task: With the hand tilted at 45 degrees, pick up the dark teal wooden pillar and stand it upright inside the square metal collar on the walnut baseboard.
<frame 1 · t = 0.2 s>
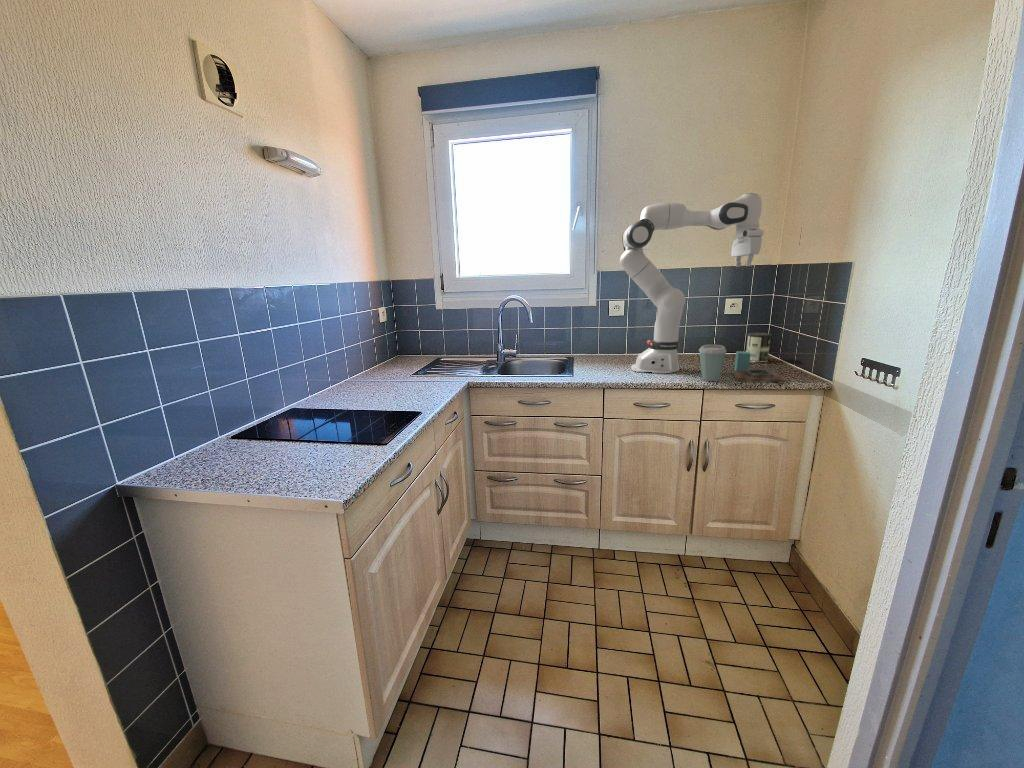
hand: (742, 266, 182), 47 cm above the worktop, tool pointing down, fingers open, 8 cm apart
pillar: (741, 371, 191), on the worktop
base board: (757, 378, 178), on the worktop
disposable coffee cup: (709, 380, 178), on the worktop
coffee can: (756, 361, 211), on the worktop
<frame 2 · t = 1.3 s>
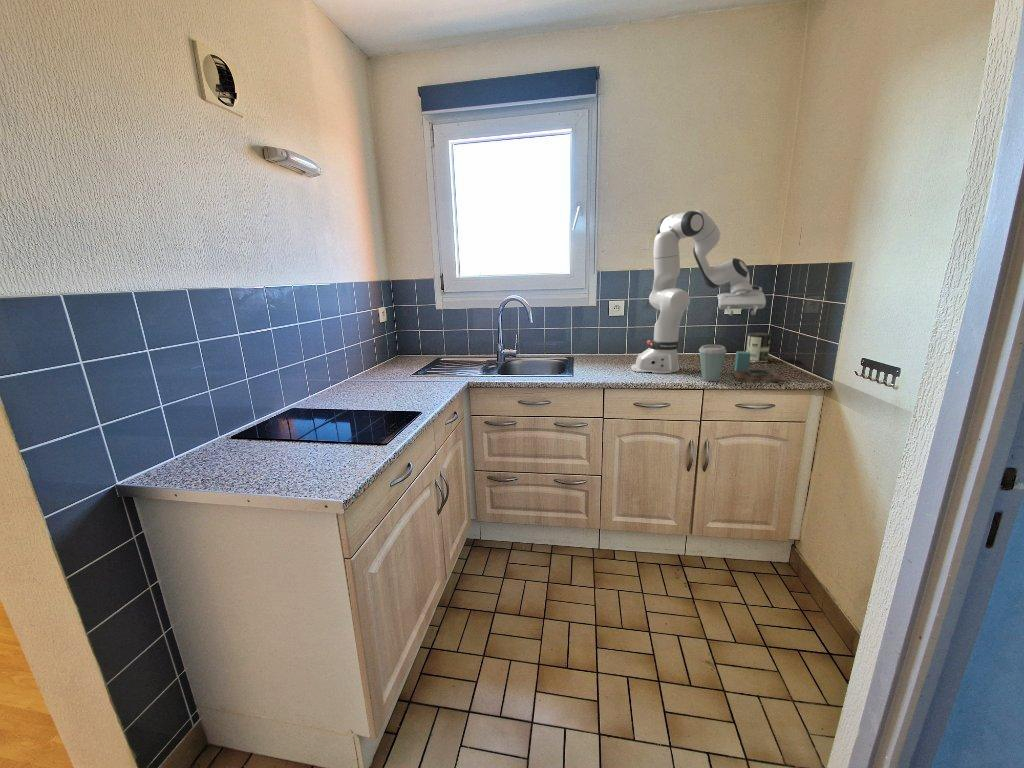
hand: (742, 314, 195), 25 cm above the worktop, tool tilted 45°, fingers open, 8 cm apart
nothing on the worktop moved.
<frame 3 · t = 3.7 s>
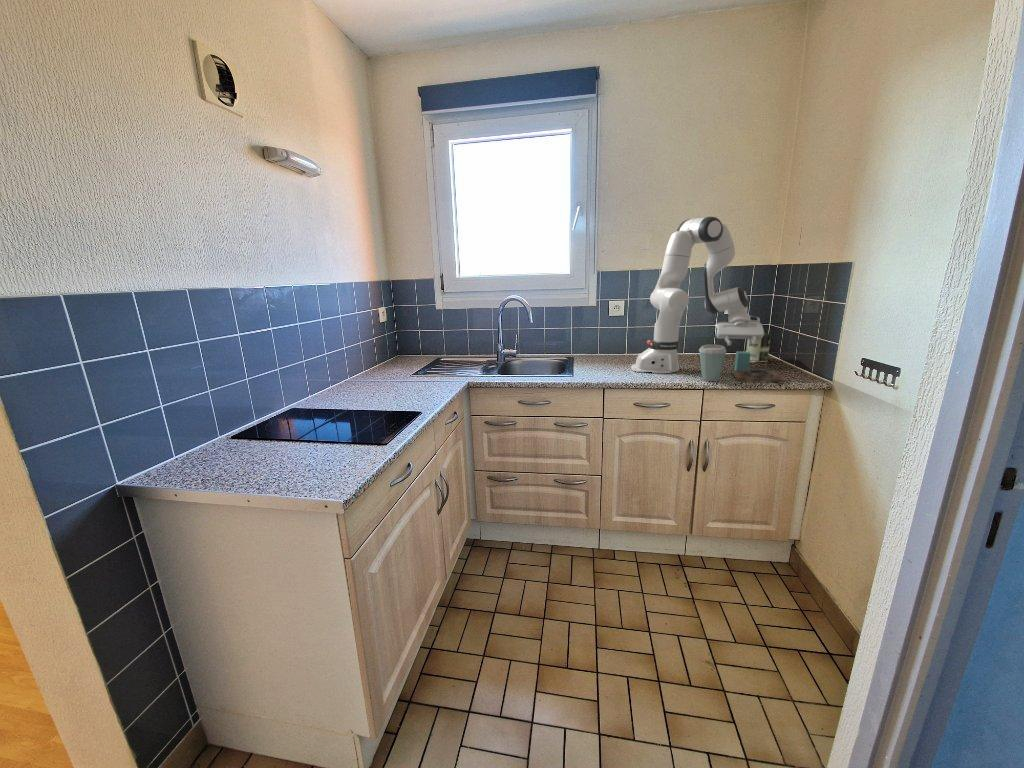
hand: (740, 345, 195), 11 cm above the worktop, tool tilted 45°, fingers open, 8 cm apart
nothing on the worktop moved.
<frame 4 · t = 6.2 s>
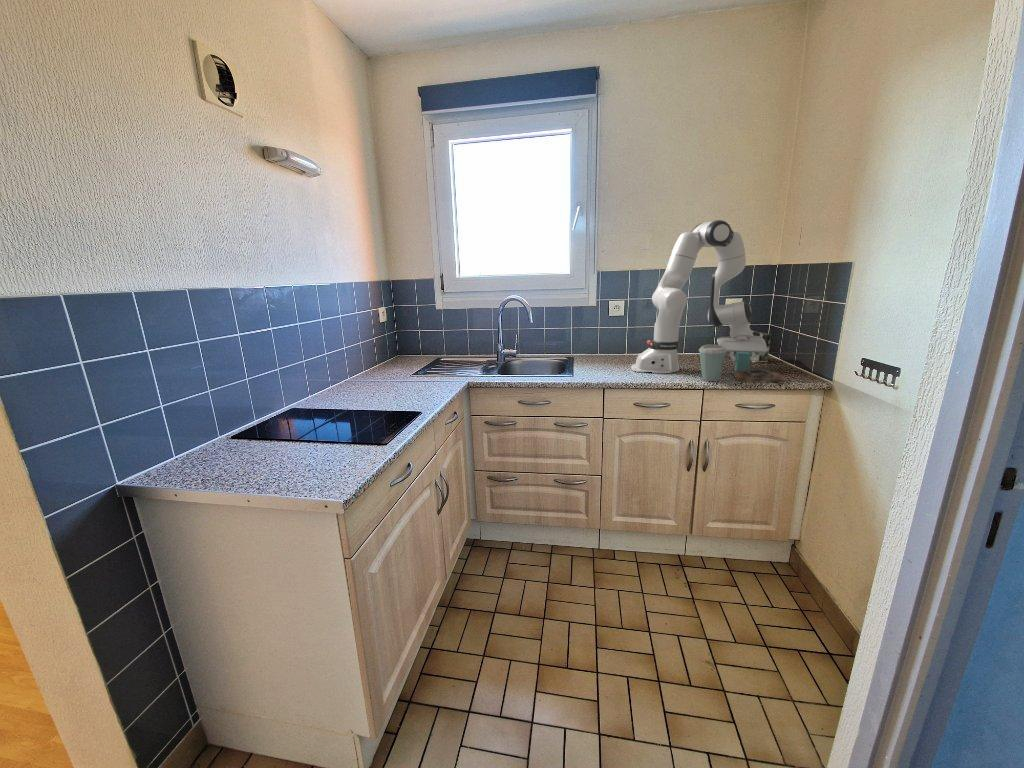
hand: (742, 361, 189), 5 cm above the worktop, tool tilted 45°, fingers closed on pillar, 5 cm apart
pillar: (741, 371, 191), on the worktop, touching gripper
everything else where it was.
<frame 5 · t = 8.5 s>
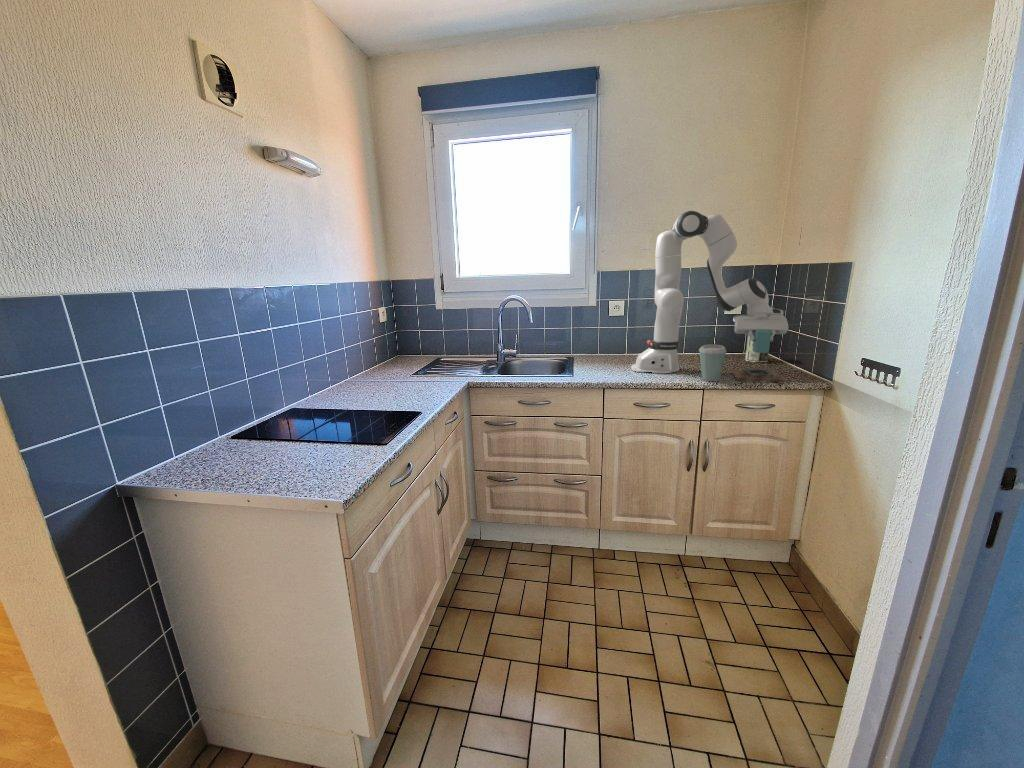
hand: (762, 340, 174), 17 cm above the worktop, tool tilted 45°, fingers closed on pillar, 5 cm apart
pillar: (760, 351, 176), point 12 cm above the worktop, touching gripper
everything else where it was.
when the fingers open (8 cm above the worktop, at t = 11.1 s): pillar drops 1 cm, resting on base board.
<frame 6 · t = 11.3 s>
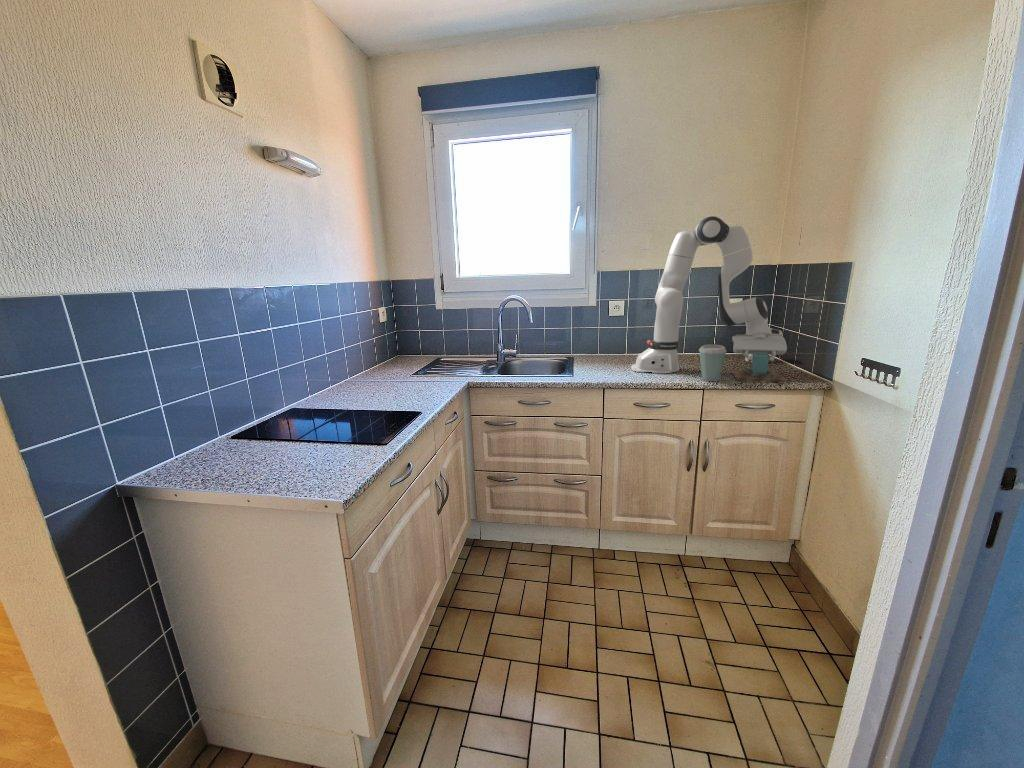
hand: (760, 361, 175), 8 cm above the worktop, tool tilted 45°, fingers open, 7 cm apart
pillar: (758, 375, 178), point 1 cm above the worktop, touching base board
everything else where it was.
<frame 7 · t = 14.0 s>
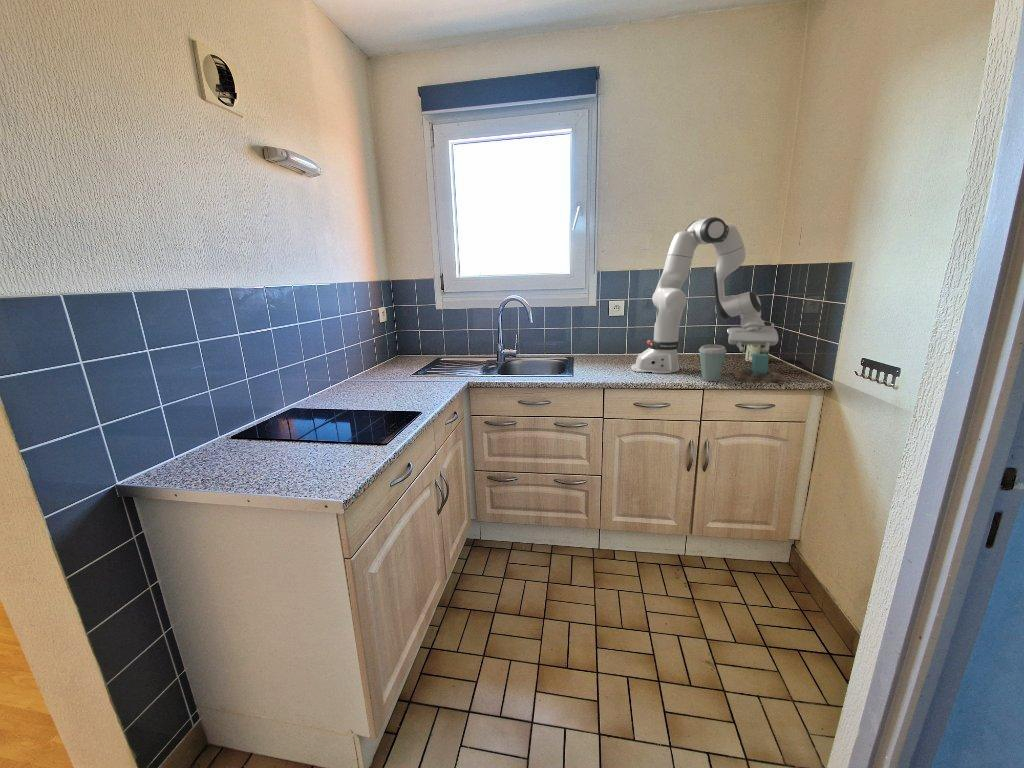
hand: (753, 351, 187), 10 cm above the worktop, tool tilted 45°, fingers open, 8 cm apart
nothing on the worktop moved.
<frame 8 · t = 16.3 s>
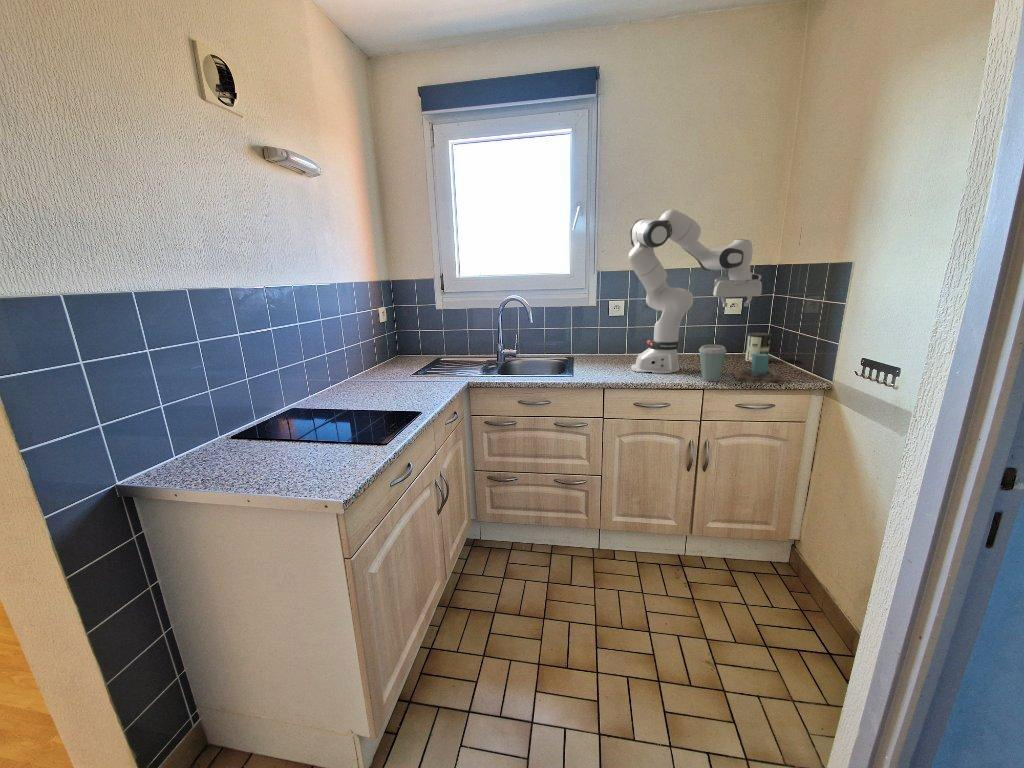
hand: (735, 306, 193), 29 cm above the worktop, tool pointing down, fingers open, 8 cm apart
nothing on the worktop moved.
at the end: pillar 0.1 cm off-centre on the base board, point 1.5 cm above the base board's base; pillar tilted 0°; the gripper is holding nothing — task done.
